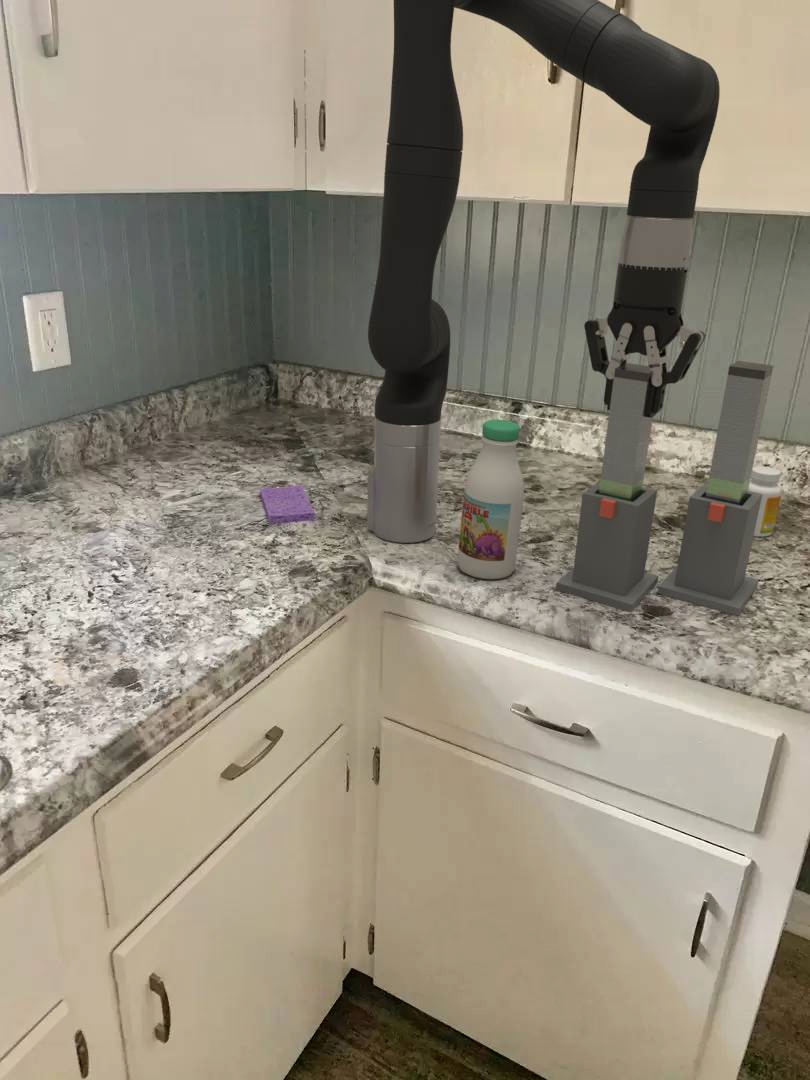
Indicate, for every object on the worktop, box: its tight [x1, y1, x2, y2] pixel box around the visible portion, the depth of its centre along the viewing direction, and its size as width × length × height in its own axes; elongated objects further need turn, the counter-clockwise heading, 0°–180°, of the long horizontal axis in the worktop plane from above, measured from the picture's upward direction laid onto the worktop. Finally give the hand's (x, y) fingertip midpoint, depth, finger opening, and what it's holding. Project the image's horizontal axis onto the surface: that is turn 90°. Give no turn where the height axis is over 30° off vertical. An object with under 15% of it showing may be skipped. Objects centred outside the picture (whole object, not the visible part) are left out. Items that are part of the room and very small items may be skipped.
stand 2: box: [657, 481, 762, 616], centre depth 106 cm, size 10×10×13 cm
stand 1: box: [555, 481, 660, 613], centre depth 106 cm, size 10×10×13 cm
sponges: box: [259, 484, 316, 525], centre depth 131 cm, size 7×13×2 cm, turn 15°
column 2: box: [705, 360, 774, 506], centre depth 101 cm, size 4×4×22 cm
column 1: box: [599, 362, 654, 502], centre depth 102 cm, size 4×4×22 cm
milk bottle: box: [457, 419, 525, 580], centre depth 108 cm, size 8×8×20 cm
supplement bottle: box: [748, 465, 783, 538], centre depth 126 cm, size 5×5×10 cm
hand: (631, 412), depth 99 cm, fingers closed on column 1, 4 cm apart
